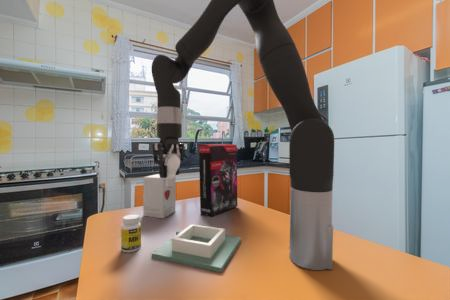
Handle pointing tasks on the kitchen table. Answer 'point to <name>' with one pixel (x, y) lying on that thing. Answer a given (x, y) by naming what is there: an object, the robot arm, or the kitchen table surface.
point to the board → (199, 247)
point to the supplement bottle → (131, 233)
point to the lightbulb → (172, 169)
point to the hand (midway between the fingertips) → (170, 176)
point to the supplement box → (157, 197)
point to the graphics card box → (217, 178)
